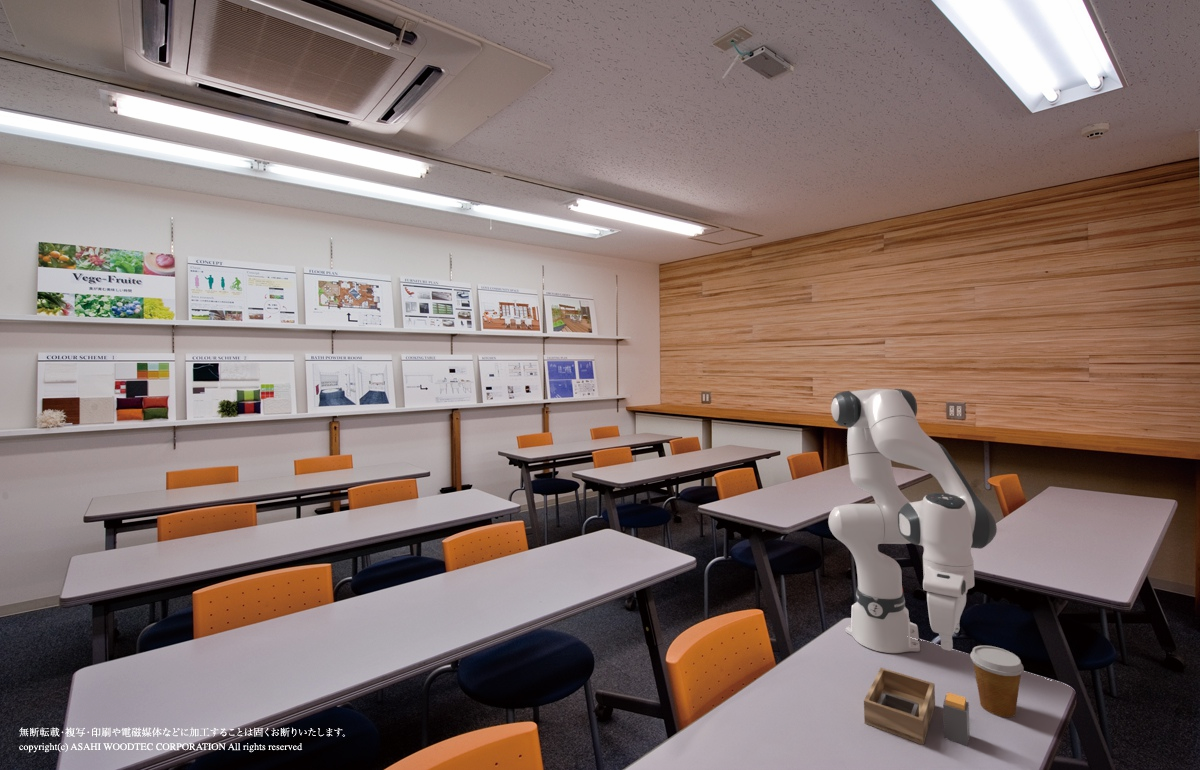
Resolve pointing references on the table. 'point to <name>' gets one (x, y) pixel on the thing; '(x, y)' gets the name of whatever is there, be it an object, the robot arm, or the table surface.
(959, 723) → the block
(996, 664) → the disposable coffee cup
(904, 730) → the box
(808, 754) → the table surface
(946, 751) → the table surface
